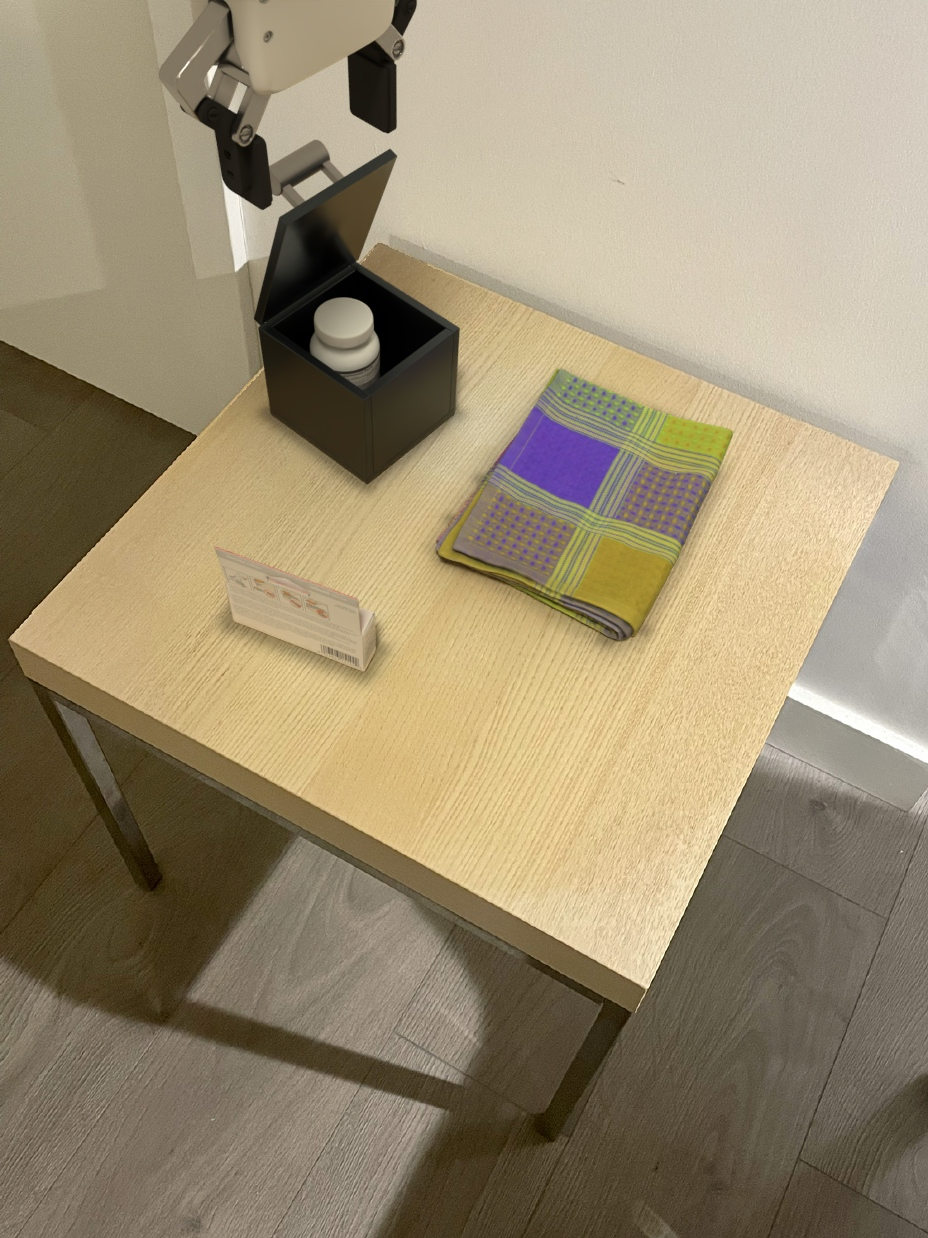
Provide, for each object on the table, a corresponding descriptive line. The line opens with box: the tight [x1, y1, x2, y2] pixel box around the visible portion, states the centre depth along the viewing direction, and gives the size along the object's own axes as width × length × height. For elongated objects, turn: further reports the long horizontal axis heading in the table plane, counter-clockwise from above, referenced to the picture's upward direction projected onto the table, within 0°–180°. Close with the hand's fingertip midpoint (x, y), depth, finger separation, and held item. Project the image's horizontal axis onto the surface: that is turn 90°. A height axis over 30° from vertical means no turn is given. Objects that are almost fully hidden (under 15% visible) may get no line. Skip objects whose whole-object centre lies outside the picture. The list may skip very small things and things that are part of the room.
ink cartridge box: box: [214, 546, 377, 673], centre depth 77 cm, size 2×11×10 cm, turn 67°
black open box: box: [257, 261, 461, 485], centre depth 89 cm, size 12×11×10 cm
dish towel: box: [434, 367, 734, 641], centre depth 88 cm, size 18×24×3 cm
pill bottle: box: [310, 298, 380, 391], centre depth 89 cm, size 6×6×10 cm
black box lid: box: [253, 139, 398, 326], centre depth 81 cm, size 12×11×5 cm
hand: (313, 158), depth 60 cm, fingers open, 9 cm apart
